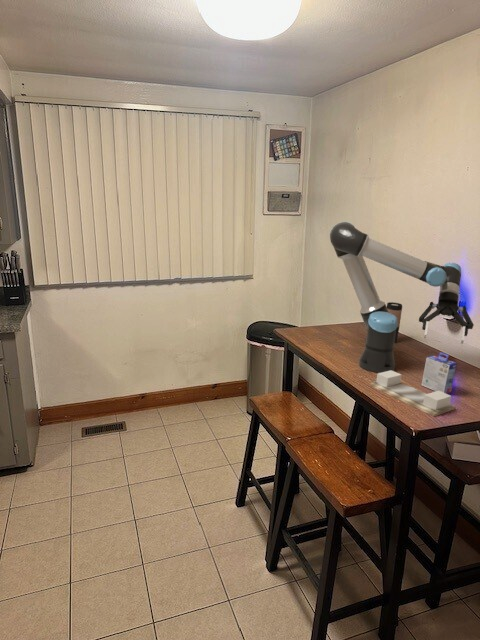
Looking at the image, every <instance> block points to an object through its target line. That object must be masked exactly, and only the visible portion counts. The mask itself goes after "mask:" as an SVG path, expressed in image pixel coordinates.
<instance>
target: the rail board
mask: <svg viewBox="0 0 480 640" xmlns="http://www.w3.org/2000/svg"><path fill="white" fill-rule="evenodd" d="M376 381H377V379H376V380H373V382H371V383H370V384H369V385H370V387H371V388H374V389H377V390H378V391H380V392H383V393H385V394H387V395H389V396H391V397H393V398H395V399H397V400H399V401H401V402H403V403H406V404H407V405H409V406H411V407H414V408H416V409H418V410H419V411H421V412H424V413H426V414H428V415H429V416H432V417H437V416H439V415H442V414H443V415H444V414H445V413H448V412H450V411H453V410H456V406H455V405H453V404H451V403H450V405H448V406H446V407H443V408H440V409H437V410H435V409H433V408H431V407H429V406H427V405H424V404H423V402H424V396H425V395H426V394H427V393H426V392H424V391H422V390H419V389H416V388H415V387H412V386H410V385H407V384H405V383H403V382H402V381H401V382H400V383H398V384H395V385H391V386H387V387H386V386H384V385H382V384H380V383H378V382H376Z"/></svg>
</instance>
